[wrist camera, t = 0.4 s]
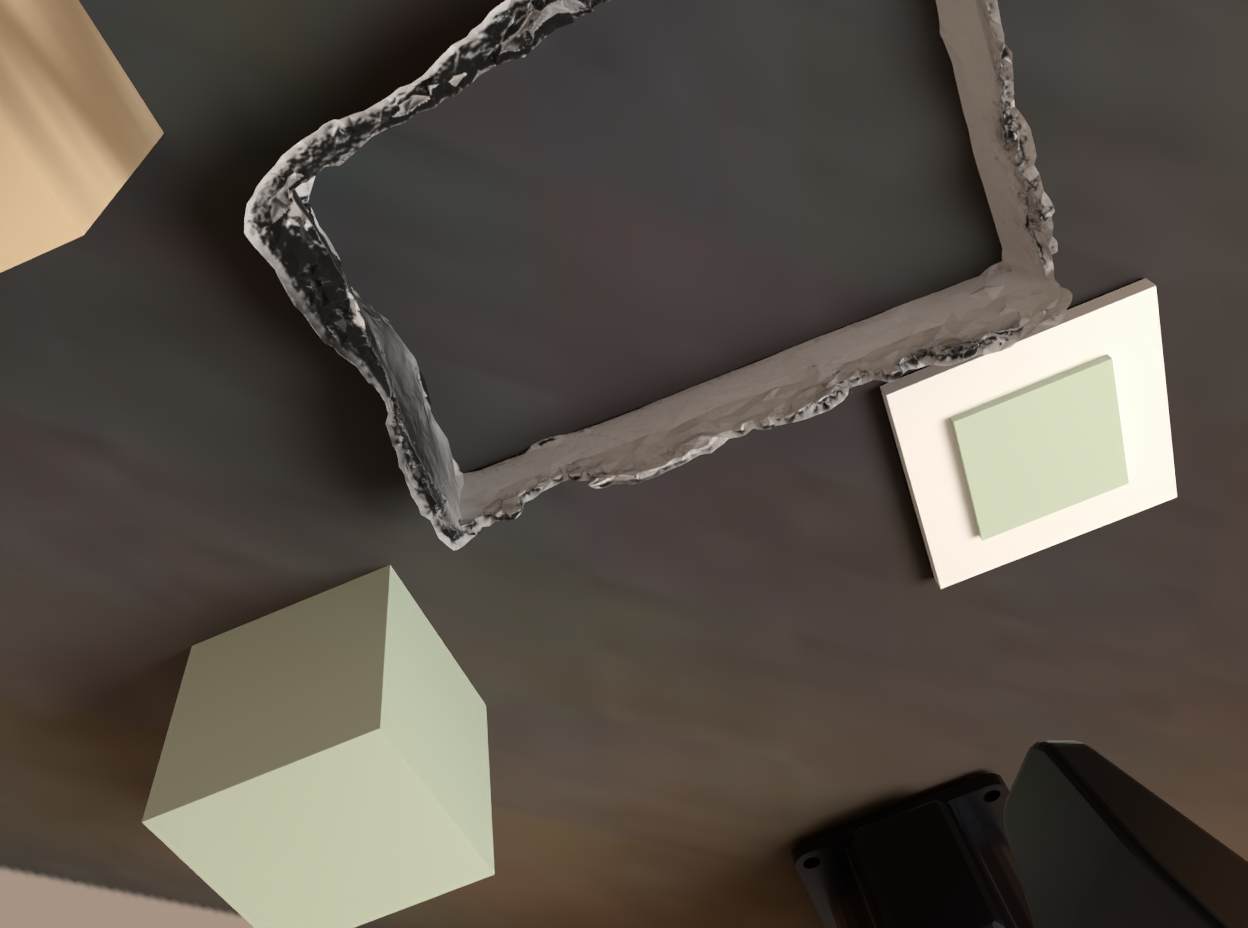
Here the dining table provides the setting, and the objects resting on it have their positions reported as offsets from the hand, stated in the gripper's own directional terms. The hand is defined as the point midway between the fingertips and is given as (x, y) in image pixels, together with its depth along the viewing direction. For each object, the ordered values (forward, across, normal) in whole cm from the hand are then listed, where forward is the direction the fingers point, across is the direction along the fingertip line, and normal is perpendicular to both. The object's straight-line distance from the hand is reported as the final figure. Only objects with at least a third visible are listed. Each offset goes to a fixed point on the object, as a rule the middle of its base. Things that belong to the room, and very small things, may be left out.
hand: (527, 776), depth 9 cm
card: (+14, -13, +4) cm, 19 cm away
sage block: (+14, +3, +11) cm, 18 cm away
